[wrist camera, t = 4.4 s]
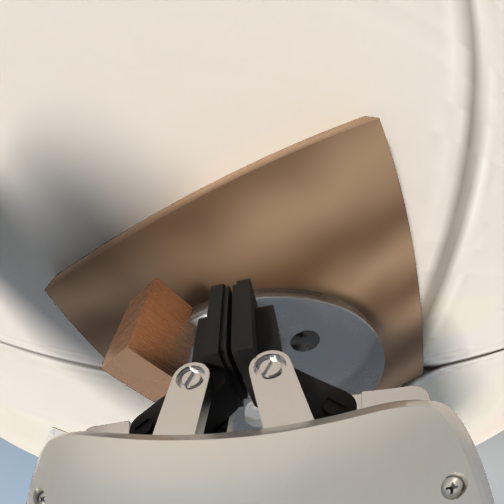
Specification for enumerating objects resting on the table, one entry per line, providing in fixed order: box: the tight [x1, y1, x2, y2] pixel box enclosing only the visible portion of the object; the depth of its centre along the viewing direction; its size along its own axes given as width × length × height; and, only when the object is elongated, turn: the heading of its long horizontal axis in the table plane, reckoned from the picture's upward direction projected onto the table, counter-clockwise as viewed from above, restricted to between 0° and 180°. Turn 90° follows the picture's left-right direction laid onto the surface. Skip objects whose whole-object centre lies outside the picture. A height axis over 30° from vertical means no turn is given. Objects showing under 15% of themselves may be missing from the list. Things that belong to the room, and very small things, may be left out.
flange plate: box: [101, 277, 385, 432], centre depth 16 cm, size 18×16×5 cm
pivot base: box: [45, 116, 423, 403], centre depth 19 cm, size 25×25×9 cm
